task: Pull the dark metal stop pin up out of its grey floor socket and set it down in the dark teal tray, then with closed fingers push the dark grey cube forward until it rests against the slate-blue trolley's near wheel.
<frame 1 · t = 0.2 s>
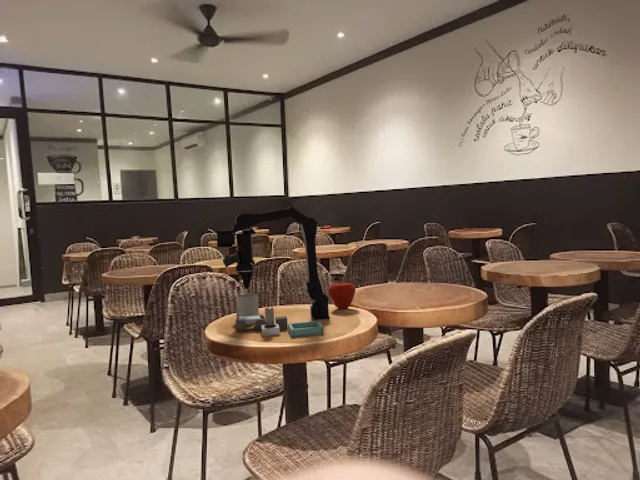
hand: (247, 287, 185), 14 cm above the table, fingers open, 9 cm apart
pin: (269, 320, 170), in the socket
socket: (270, 333, 170), on the table
apple: (342, 309, 206), on the table
dark grey cube: (281, 328, 177), on the table
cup: (248, 320, 194), on the table
trolley: (252, 328, 179), on the table
tray: (305, 332, 169), on the table
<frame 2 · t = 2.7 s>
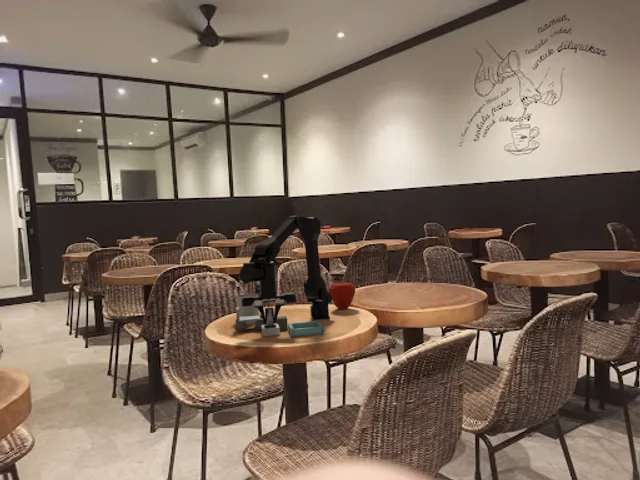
hand: (270, 323, 170), 4 cm above the table, fingers closed on pin, 3 cm apart
pin: (269, 320, 170), in the socket, touching gripper
everything else where it was.
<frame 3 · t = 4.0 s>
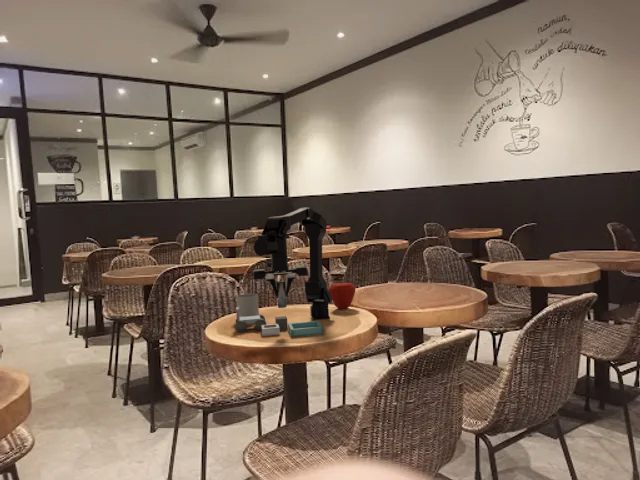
hand: (281, 297, 169), 13 cm above the table, fingers closed on pin, 3 cm apart
pin: (281, 294, 169), point 14 cm above the table, touching gripper
everything else where it was.
when the fingers open (5 cm above the table, at t = 5.5 s): pin stays where it is, resting on tray.
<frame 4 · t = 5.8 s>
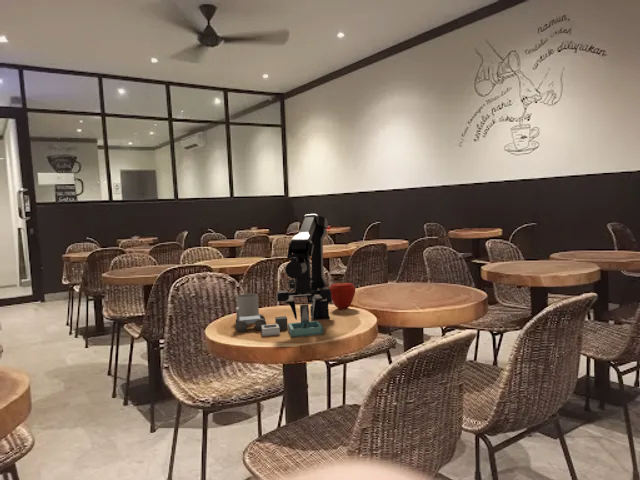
hand: (304, 318, 169), 5 cm above the table, fingers open, 6 cm apart
pin: (304, 317, 169), in the tray, point 5 cm above the table
everything else where it was.
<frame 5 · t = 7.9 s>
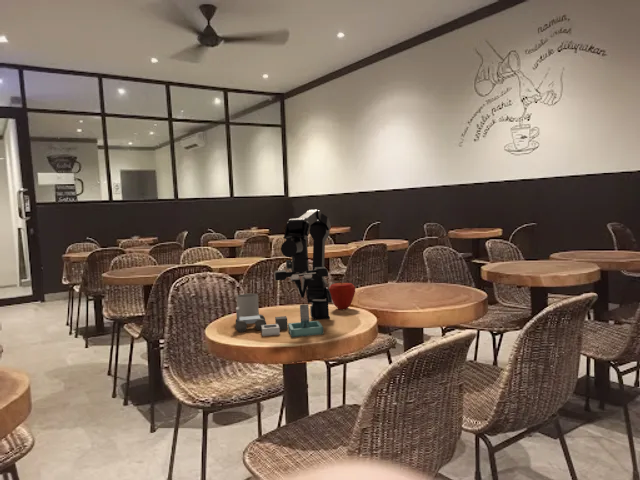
hand: (302, 297, 172), 12 cm above the table, fingers closed
nothing on the table moved.
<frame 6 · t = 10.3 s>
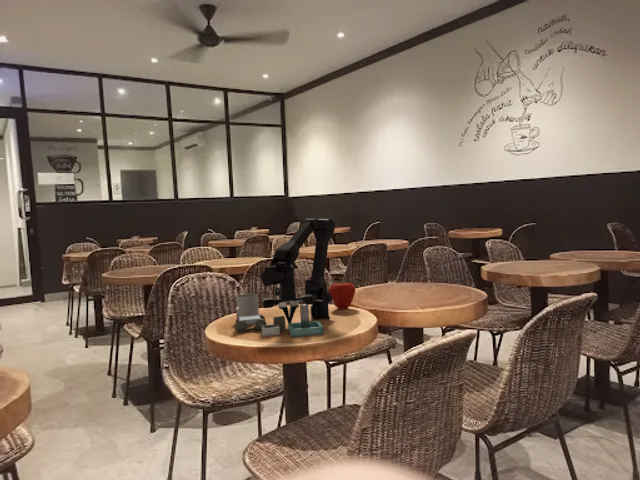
hand: (289, 324, 177), 1 cm above the table, fingers closed
dark grey cube: (279, 328, 177), on the table, touching gripper
everything else where it was.
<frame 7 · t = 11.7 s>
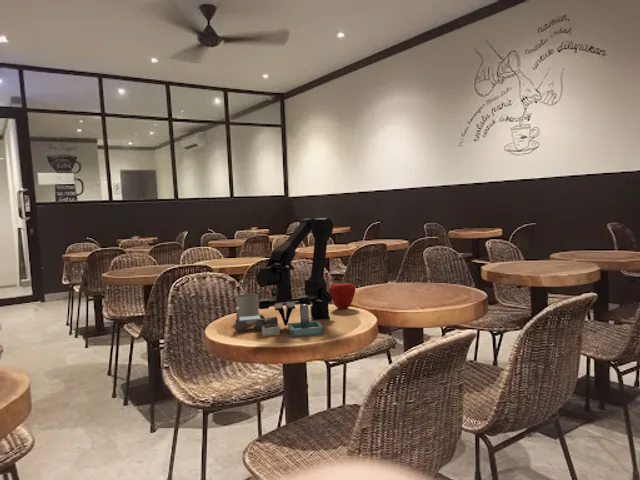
hand: (285, 325, 177), 1 cm above the table, fingers closed
dark grey cube: (272, 329, 177), on the table
everything else where it was.
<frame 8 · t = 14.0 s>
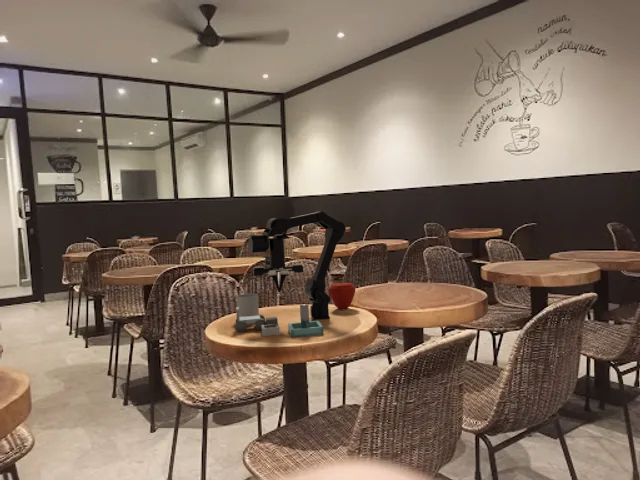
hand: (279, 292, 184), 12 cm above the table, fingers closed
nothing on the table moved.
at the end: pin inside the target area on the tray (0.0 cm from its centre), point 5.1 cm above the tray's base; dark grey cube 0.1 cm from the target spot, on the table; the gripper is holding nothing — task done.
